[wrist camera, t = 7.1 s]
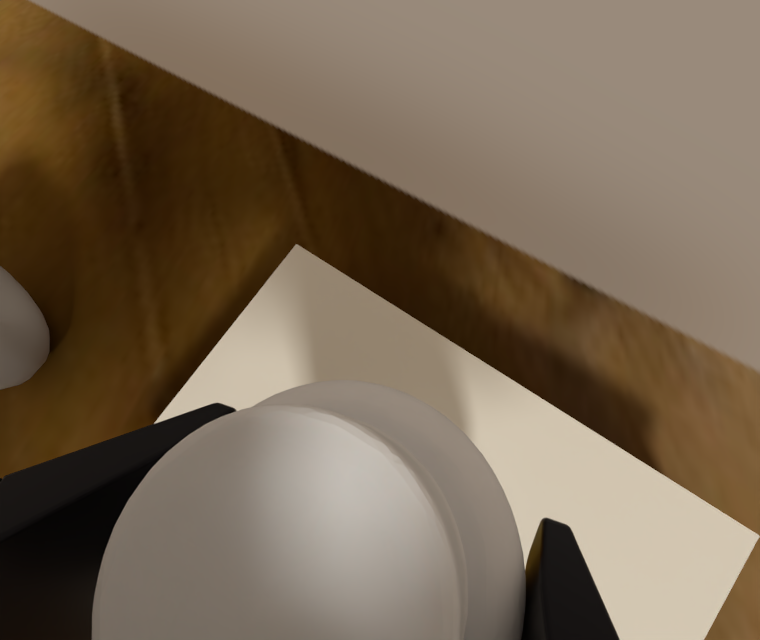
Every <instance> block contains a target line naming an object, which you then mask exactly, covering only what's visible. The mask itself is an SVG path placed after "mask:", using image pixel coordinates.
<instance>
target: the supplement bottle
mask: <svg viewBox="0 0 760 640" xmlns="http://www.w3.org/2000/svg"><path fill="white" fill-rule="evenodd" d="M525 608H526V575H525V566H524V556H523V550H522V545H521V541H520V536H519V532H518V528H517V525H516V521H515V518H514V515H513V512H512V509H511V506H510V504H509V502H508V499H507V497H506V495H505V492H504V490H503V488H502V486H501V484H500V482H499V480H498V478H497V476H496V475H495V473H494V471H493V470H492V468H491V467H490V465H489V463H488V462H487V460H486V459H485V457H484V456H483V454H482V453H481V452H480V451H479V449H478V448H477V447H476V446H475V445H474V443H473V442H472V441H471V440H470V439H469V438H468V436H467V435H466V434H465V433H464V432H463V431H462V430H460V429H459V428H458V427H457V426H456V425H455V424H454V423H453V422H452V421H451V420H449V419H448V418H447V417H446V416H444V415H443V414H442V413H440V412H439V411H437V410H436V409H434V408H433V407H432V406H430V405H428V404H426V403H424V402H423V401H421V400H419V399H417V398H415V397H413V396H411V395H409V394H407V393H404V392H402V391H399V390H397V389H394V388H390V387H387V386H384V385H380V384H375V383H369V382H363V381H357V380H331V381H321V382H314V383H310V384H305V385H301V386H298V387H294V388H291V389H288V390H285V391H283V392H280V393H277V394H275V395H273V396H271V397H269V398H267V399H265V400H263V401H261V402H259V403H257V404H256V405H254V406H253V407H250V408H246V409H241V410H239V411H236V412H233V413H230V414H227V415H224V416H222V417H220V418H217V419H215V420H213V421H211V422H209V423H207V424H205V425H203V426H202V427H200V428H199V429H197V430H195V431H194V432H192V433H191V434H189V435H188V436H187V437H185V438H184V439H183V440H181V441H180V442H179V443H178V444H176V445H175V446H174V447H173V448H172V449H170V450H169V451H168V452H167V453H166V454H165V455H164V456H163V457H162V458H161V459H160V460H159V461H158V462H157V463H156V464H155V465H154V466H153V467H152V468H151V469H150V471H149V472H148V473H147V475H146V476H145V477H144V479H143V480H142V481H141V483H140V484H139V486H138V487H137V488H136V490H135V491H134V493H133V494H132V496H131V497H130V498H129V500H128V501H127V503H126V505H125V507H124V509H123V511H122V513H121V515H120V516H119V518H118V520H117V522H116V524H115V526H114V528H113V531H112V533H111V536H110V539H109V541H108V544H107V547H106V549H105V552H104V555H103V559H102V563H101V567H100V571H99V574H98V579H97V584H96V589H95V594H94V602H93V611H92V640H521V638H522V632H523V625H524V615H525Z"/></svg>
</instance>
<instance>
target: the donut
mask: <svg viewBox="0 0 760 640" xmlns="http://www.w3.org/2000/svg"><path fill="white" fill-rule="evenodd" d="M49 352H50V333H49V328H48V326H47V323H46V321H45V319H44V316H43V314H42V312H41V311H40V309H39V308H38V306H37V305H36V303H35V302H34V301H33V299H32V298H31V296H30V295H29V294H28V292H27V291H26V290H25V289H24V288H23V287H22V286H21V285H20V284H19V283H18V282H17V281H16V280H15V279H14V278H13V276H11V275H10V274H9V273H8V272H7V271H6V270H4V269H3V268H2V267H1V266H0V389H4V388H9V387H13V386H17V385H20V384H22V383H24V382H25V381H27V380H29V379H30V378H31V377H32V376H33V375H34V374H35V373H36V371H37V370H38V369H39V368H40V367H41V366H42V365H43V364H44V363H45V361H46V360H47V357H48V354H49Z"/></svg>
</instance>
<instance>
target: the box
mask: <svg viewBox="0 0 760 640" xmlns="http://www.w3.org/2000/svg"><path fill="white" fill-rule="evenodd" d="M331 380H357V381H363V382H369V383H375V384H380V385H384V386H387V387H390V388H394V389H397V390H399V391H402V392H404V393H407V394H409V395H411V396H413V397H415V398H417V399H419V400H421V401H423V402H424V403H426V404H428V405H430V406H432V407H433V408H434V409H436V410H437V411H439V412H440V413H442V414H443V415H444V416H446V417H447V418H448V419H449V420H451V421H452V422H453V423H454V424H455V425H456V426H457V427H458V428H459V429H460V430H462V431H463V432H464V433H465V434H466V435H467V436H468V438H469V439H470V440H471V441H472V442H473V443H474V445H475V446H476V447H477V448H478V449H479V451H480V452H481V453H482V454H483V456H484V457H485V459H486V460H487V462H488V463H489V465H490V467H491V468H492V470H493V471H494V473H495V475H496V476H497V478H498V480H499V482H500V484H501V486H502V488H503V490H504V492H505V495H506V497H507V499H508V502H509V504H510V506H511V509H512V512H513V515H514V518H515V521H516V525H517V528H518V532H519V536H520V541H521V545H522V550H523V556H524V566H525V568H526V563H527V559H528V555H529V551H530V548H531V546H532V543H533V540H534V537H535V535H536V532H537V529H538V526H539V524H540V521H541V520H542V519H543V518H550V519H553V520H556V521H558V522H561V523H564V524H567V525H568V526H569V527H570V528H571V530H572V532H573V534H574V536H575V539H576V541H577V543H578V546H579V548H580V550H581V552H582V555H583V557H584V559H585V561H586V564H587V566H588V568H589V571H590V573H591V575H592V577H593V580H594V582H595V584H596V586H597V589H598V591H599V593H600V596H601V598H602V600H603V602H604V605H605V607H606V609H607V612H608V614H609V616H610V618H611V621H612V623H613V625H614V627H615V630H616V632H617V634H618V637H619V639H620V640H704V638H705V637H706V635H707V633H708V631H709V629H710V627H711V625H712V624H713V622H714V620H715V618H716V616H717V614H718V612H719V611H720V609H721V607H722V605H723V603H724V601H725V599H726V597H727V596H728V594H729V592H730V590H731V588H732V586H733V584H734V583H735V581H736V579H737V577H738V575H739V573H740V571H741V570H742V568H743V566H744V564H745V562H746V560H747V558H748V557H749V555H750V553H751V551H752V549H753V547H754V545H755V543H756V542H757V540H758V538H759V535H757V534H756V533H754V532H753V531H751V530H750V529H748V528H746V527H745V526H743V525H742V524H740V523H738V522H737V521H735V520H734V519H732V518H731V517H729V516H727V515H726V514H724V513H723V512H721V511H719V510H718V509H716V508H715V507H713V506H711V505H710V504H708V503H707V502H705V501H704V500H702V499H700V498H699V497H697V496H696V495H694V494H692V493H691V492H689V491H688V490H686V489H684V488H683V487H681V486H680V485H678V484H677V483H675V482H673V481H672V480H670V479H669V478H667V477H665V476H664V475H662V474H661V473H659V472H658V471H656V470H654V469H653V468H651V467H650V466H648V465H646V464H645V463H643V462H642V461H640V460H638V459H637V458H635V457H634V456H632V455H631V454H629V453H627V452H626V451H624V450H623V449H621V448H619V447H618V446H616V445H615V444H613V443H612V442H610V441H608V440H607V439H605V438H604V437H602V436H600V435H599V434H597V433H596V432H594V431H592V430H591V429H589V428H588V427H586V426H585V425H583V424H581V423H580V422H578V421H577V420H575V419H573V418H572V417H570V416H569V415H567V414H565V413H564V412H562V411H561V410H559V409H558V408H556V407H554V406H553V405H551V404H550V403H548V402H546V401H545V400H543V399H542V398H540V397H539V396H537V395H535V394H534V393H532V392H531V391H529V390H527V389H526V388H524V387H523V386H521V385H519V384H518V383H516V382H515V381H513V380H512V379H510V378H508V377H507V376H505V375H504V374H502V373H500V372H499V371H497V370H496V369H494V368H492V367H491V366H489V365H488V364H486V363H485V362H483V361H481V360H480V359H478V358H477V357H475V356H473V355H472V354H470V353H469V352H467V351H466V350H464V349H462V348H461V347H459V346H458V345H456V344H454V343H453V342H451V341H450V340H448V339H446V338H445V337H443V336H442V335H440V334H439V333H437V332H435V331H434V330H432V329H431V328H429V327H427V326H426V325H424V324H423V323H421V322H420V321H418V320H416V319H415V318H413V317H412V316H410V315H408V314H407V313H405V312H404V311H402V310H400V309H399V308H397V307H396V306H394V305H393V304H391V303H389V302H388V301H386V300H385V299H383V298H381V297H380V296H378V295H377V294H375V293H373V292H372V291H370V290H369V289H367V288H366V287H364V286H362V285H361V284H359V283H358V282H356V281H354V280H353V279H351V278H350V277H348V276H347V275H345V274H343V273H342V272H340V271H339V270H337V269H335V268H334V267H332V266H331V265H329V264H327V263H326V262H324V261H323V260H321V259H320V258H318V257H316V256H315V255H313V254H312V253H310V252H308V251H307V250H305V249H304V248H302V247H300V246H299V245H297V244H296V245H295V246H294V247H293V249H292V250H291V251H290V252H289V254H288V255H287V256H286V258H285V259H284V260H283V261H282V263H281V264H280V265H279V266H278V268H277V269H276V270H275V271H274V273H273V274H272V275H271V276H270V278H269V279H268V280H267V282H266V283H265V284H264V285H263V287H262V288H261V289H260V290H259V292H258V293H257V294H256V295H255V297H254V298H253V299H252V300H251V302H250V303H249V304H248V306H247V307H246V308H245V309H244V311H243V312H242V313H241V314H240V316H239V317H238V318H237V319H236V321H235V322H234V323H233V324H232V326H231V327H230V328H229V329H228V331H227V332H226V333H225V335H224V336H223V337H222V338H221V340H220V341H219V342H218V343H217V345H216V346H215V347H214V348H213V350H212V351H211V352H210V353H209V355H208V356H207V357H206V359H205V360H204V361H203V362H202V364H201V365H200V366H199V367H198V369H197V370H196V371H195V372H194V374H193V375H192V376H191V377H190V379H189V380H188V381H187V383H186V384H185V385H184V386H183V388H182V389H181V390H180V391H179V393H178V394H177V395H176V396H175V398H174V399H173V400H172V401H171V403H170V404H169V405H168V407H167V408H166V409H165V410H164V412H163V413H162V414H161V415H160V417H159V418H158V419H157V420H156V422H155V423H158V422H161V421H164V420H167V419H169V418H172V417H175V416H178V415H181V414H184V413H187V412H189V411H192V410H195V409H198V408H201V407H204V406H207V405H210V404H213V403H222V404H225V405H227V406H230V407H233V408H235V409H236V410H237V411H239V410H241V409H246V408H250V407H253V406H254V405H256V404H257V403H259V402H261V401H263V400H265V399H267V398H269V397H271V396H273V395H275V394H277V393H280V392H283V391H285V390H288V389H291V388H294V387H298V386H301V385H305V384H310V383H314V382H321V381H331ZM155 423H154V424H155Z"/></svg>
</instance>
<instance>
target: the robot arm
mask: <svg viewBox="0 0 760 640" xmlns="http://www.w3.org/2000/svg"><path fill="white" fill-rule="evenodd" d="M236 411H237V410H236V409H235V408H233V407H230V406H227V405H225V404H222V403H213V404H210V405H207V406H204V407H201V408H198V409H195V410H192V411H189V412H187V413H184V414H181V415H178V416H175V417H172V418H169V419H167V420H164V421H161V422H158V423H155V424H152V425H149V426H147V427H144V428H141V429H138V430H135V431H132V432H129V433H126V434H124V435H121V436H118V437H115V438H112V439H109V440H106V441H104V442H101V443H98V444H95V445H92V446H89V447H86V448H84V449H81V450H78V451H75V452H72V453H69V454H66V455H63V456H61V457H58V458H55V459H52V460H49V461H46V462H43V463H40V464H38V465H35V466H32V467H29V468H26V469H23V470H20V471H18V472H15V473H12V474H9V475H6V476H5V477H4V478H3V479H2V478H0V640H92V611H93V602H94V594H95V589H96V584H97V579H98V574H99V571H100V567H101V563H102V559H103V555H104V552H105V549H106V547H107V544H108V541H109V539H110V536H111V533H112V531H113V528H114V526H115V524H116V522H117V520H118V518H119V516H120V515H121V513H122V511H123V509H124V507H125V505H126V503H127V501H128V500H129V498H130V497H131V496H132V494H133V493H134V491H135V490H136V488H137V487H138V486H139V484H140V483H141V481H142V480H143V479H144V477H145V476H146V475H147V473H148V472H149V471H150V469H151V468H152V467H153V466H154V465H155V464H156V463H157V462H158V461H159V460H160V459H161V458H162V457H163V456H164V455H165V454H166V453H167V452H168V451H169V450H170V449H172V448H173V447H174V446H175V445H176V444H178V443H179V442H180V441H181V440H183V439H184V438H185V437H187V436H188V435H189V434H191V433H192V432H194V431H195V430H197V429H199V428H200V427H202V426H203V425H205V424H207V423H209V422H211V421H213V420H215V419H217V418H220V417H222V416H224V415H227V414H230V413H233V412H236ZM525 575H526V608H525V615H524V625H523V632H522V638H521V640H620V639H619V637H618V634H617V632H616V630H615V627H614V625H613V623H612V621H611V618H610V616H609V614H608V612H607V609H606V607H605V605H604V602H603V600H602V598H601V596H600V593H599V591H598V589H597V586H596V584H595V582H594V580H593V577H592V575H591V573H590V571H589V568H588V566H587V564H586V561H585V559H584V557H583V555H582V552H581V550H580V548H579V546H578V543H577V541H576V539H575V536H574V534H573V532H572V530H571V528H570V527H569V526H568V525H567V524H564V523H561V522H558V521H556V520H553V519H550V518H543V519H542V520H541V521H540V524H539V526H538V529H537V532H536V535H535V537H534V540H533V543H532V546H531V548H530V551H529V555H528V559H527V563H526V568H525Z"/></svg>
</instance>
